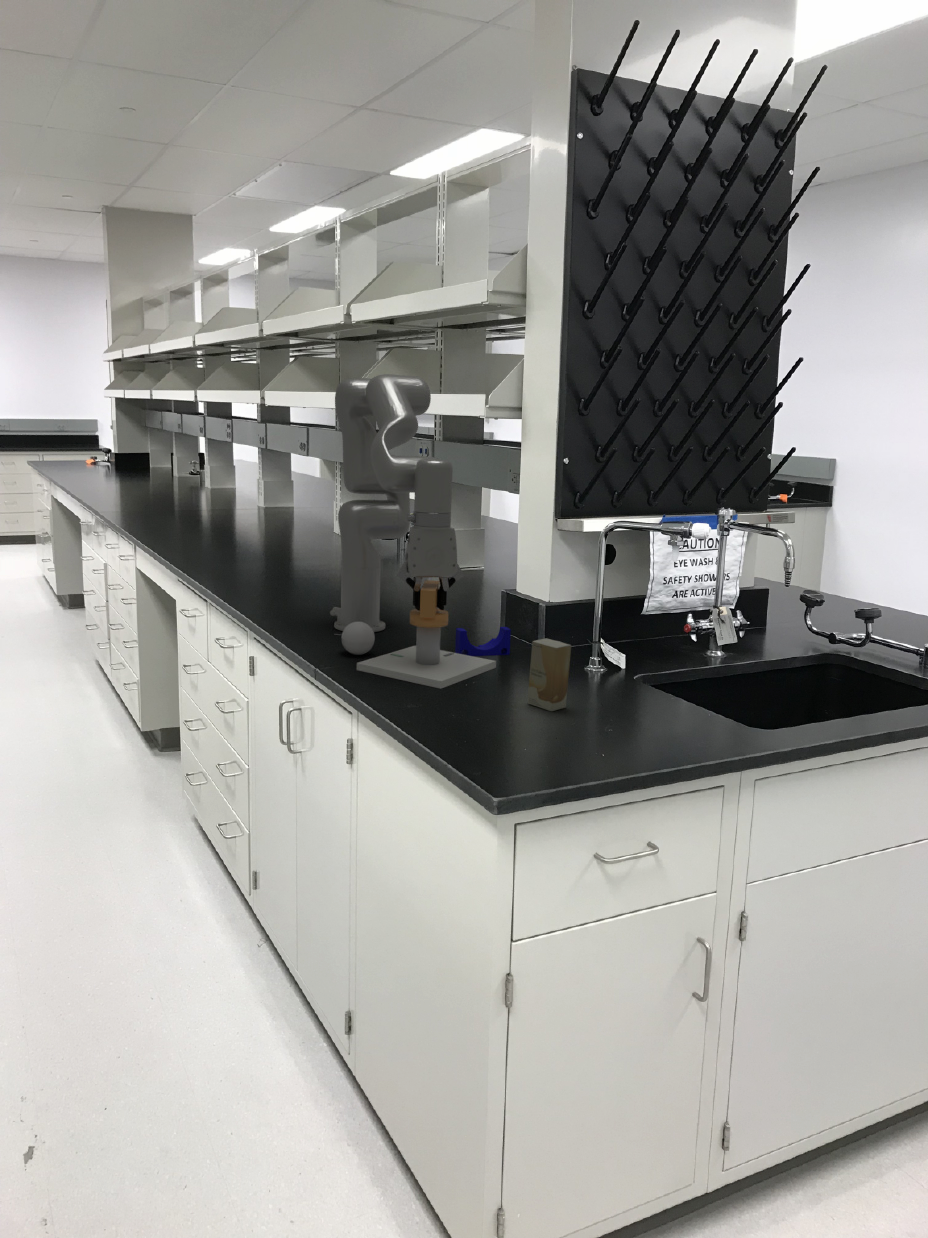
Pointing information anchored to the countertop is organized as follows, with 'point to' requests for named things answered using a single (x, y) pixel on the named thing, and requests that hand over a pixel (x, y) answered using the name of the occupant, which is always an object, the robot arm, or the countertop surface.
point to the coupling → (429, 608)
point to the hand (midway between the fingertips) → (429, 608)
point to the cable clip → (493, 647)
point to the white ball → (358, 638)
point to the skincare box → (549, 674)
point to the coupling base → (427, 671)
